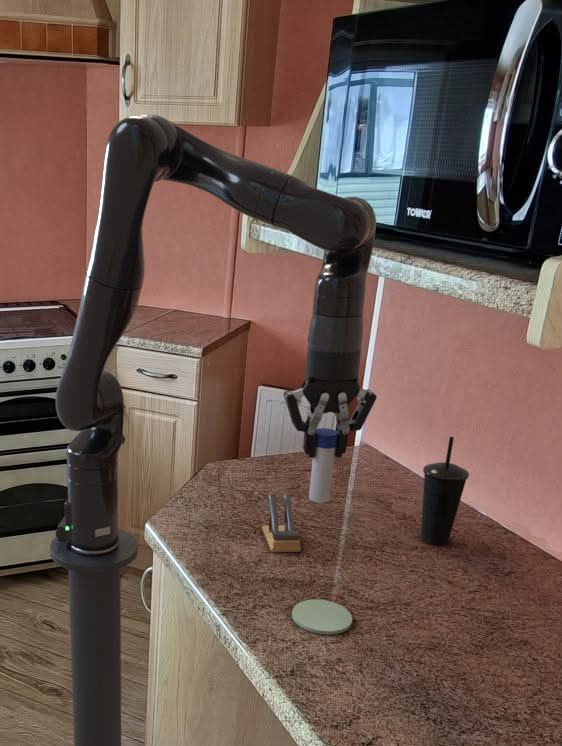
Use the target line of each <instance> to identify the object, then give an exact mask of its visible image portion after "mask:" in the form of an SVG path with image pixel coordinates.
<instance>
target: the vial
mask: <svg viewBox="0 0 562 746" xmlns="http://www.w3.org/2000/svg"><path fill="white" fill-rule="evenodd" d="M315 434H316V446H315V456H314V458H312V459H311V460H312V461H311V473H310V482H309V483H310V484H309V494H308V499H309V500H310V501H311V502H314V503H318V504H325V503H328V502H330V501H331V493H332V485H333V475H334V464H335V457H336V456H335V447H336V446H337V441H338V432H337V431H336V430H335V429H333V428H327V427H326V428H324V427H322V428H321V427H320V428H317V430H316V433H315Z"/></svg>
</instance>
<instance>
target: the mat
mask: <svg viewBox="0 0 562 746" xmlns="http://www.w3.org/2000/svg"><path fill="white" fill-rule="evenodd" d="M352 615H353V614H352V613H351V612H350V611H349V610H348V608H346V607H345V606H343V605H341V604H339V603H337V602H334V601H331V600H326V599H314V598H313V599H307V600H302V601H300V602H298V603H296V604H295V605H294V607H293V608H292V611H291V618H292V620H293V621H294V623H295V624H296V625H297V626H299V627H300V628H302V629H303V630H305V631H308V632H311V633H314V634H319V635H338V634H342V633H344V632H346V631H348V630H349V629H350V628H351V626H352V625H353V616H352Z"/></svg>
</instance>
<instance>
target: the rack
mask: <svg viewBox="0 0 562 746" xmlns="http://www.w3.org/2000/svg"><path fill="white" fill-rule="evenodd" d="M268 503H269V523H268V525H262V528H261V529H262V532H263V535H264V537H265V540H266V542H267V544H268V547H269V549H270V552H271V553H295V552H296V553H301V550H302V547H301V541H300V539H299V538H300V532H299V530H295V526H294V517H293V507H292V497H291V494H289V493H287V494H286V493H285V494H284V495H283V503H284V523H283V524H282V525H279V520H278V509H277V498H276V495H275V494H269V495H268Z"/></svg>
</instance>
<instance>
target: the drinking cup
mask: <svg viewBox="0 0 562 746" xmlns="http://www.w3.org/2000/svg"><path fill="white" fill-rule="evenodd" d="M454 439H455V437H454V436H449V439H448V446H447V450H446V457H445V462H440V461H439V462H435V463H429V464H426V465H425V466H423V469H422V471H423V474H424V476H423V490H422V491H423V494H422V507H421V508H422V509H421V527H420V538H421V541H422V542H424V543H426V544H429V545H432V546H445V545H447V544H449V542H450V537H451V534H452V530H453V527H454V523H455V520H456V516H457V513H458V511H459V510H458V509H459V506H460V503H461V499H462V496H463V492H464V488H465V485H466V481H467V480H468V479H469V476H470V473H469V471H468V470H467V469H465V468H463V467H461V466H459V465H457V464H455V463H452V462H451V457H452V451H453V445H454Z"/></svg>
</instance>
